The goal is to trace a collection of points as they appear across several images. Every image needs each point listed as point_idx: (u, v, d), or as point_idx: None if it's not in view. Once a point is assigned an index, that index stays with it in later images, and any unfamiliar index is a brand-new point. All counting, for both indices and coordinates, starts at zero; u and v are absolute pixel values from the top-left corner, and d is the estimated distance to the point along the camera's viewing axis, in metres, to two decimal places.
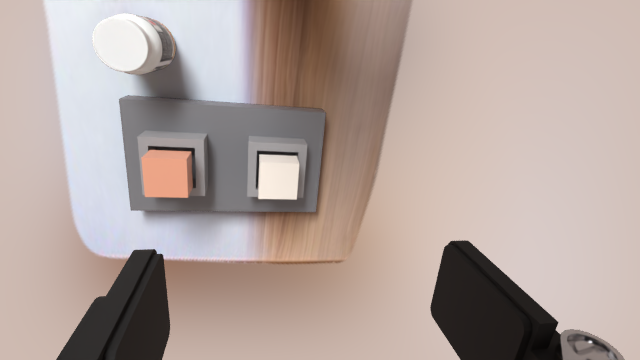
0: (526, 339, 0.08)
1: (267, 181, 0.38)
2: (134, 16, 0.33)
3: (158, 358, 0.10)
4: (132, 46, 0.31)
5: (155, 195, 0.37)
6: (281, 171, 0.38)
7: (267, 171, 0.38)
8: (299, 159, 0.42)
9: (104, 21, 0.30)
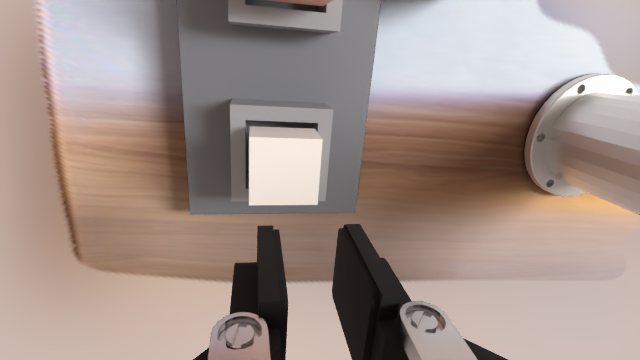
0: (374, 310, 0.09)
1: (285, 152, 0.21)
2: None
3: None
4: None
5: None
6: (304, 176, 0.22)
7: (304, 152, 0.21)
8: None
9: None
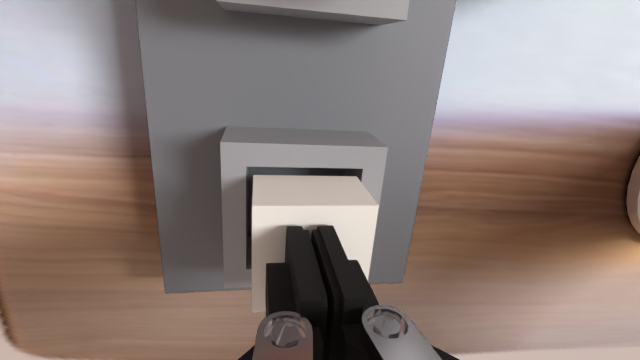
0: (338, 314, 0.09)
1: (315, 229, 0.12)
2: None
3: None
4: None
5: None
6: None
7: (347, 228, 0.12)
8: None
9: None
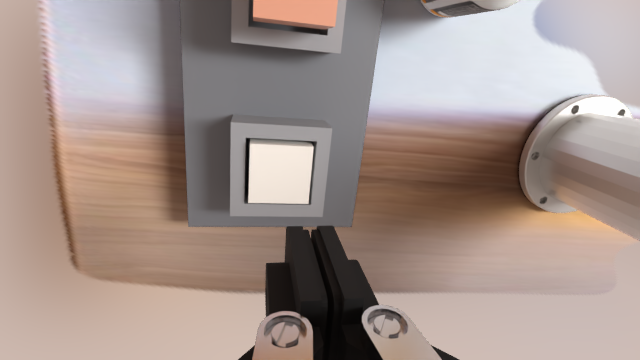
0: (338, 314, 0.09)
1: (281, 158, 0.24)
2: None
3: None
4: None
5: None
6: (297, 179, 0.25)
7: (298, 158, 0.24)
8: (299, 206, 0.26)
9: None
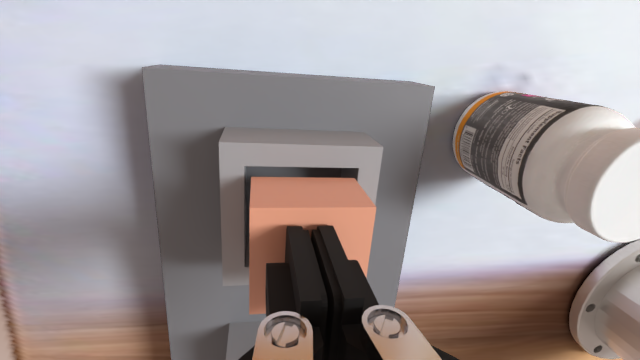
0: (338, 314, 0.09)
1: None
2: None
3: None
4: (633, 215, 0.14)
5: (255, 236, 0.12)
6: None
7: None
8: None
9: None
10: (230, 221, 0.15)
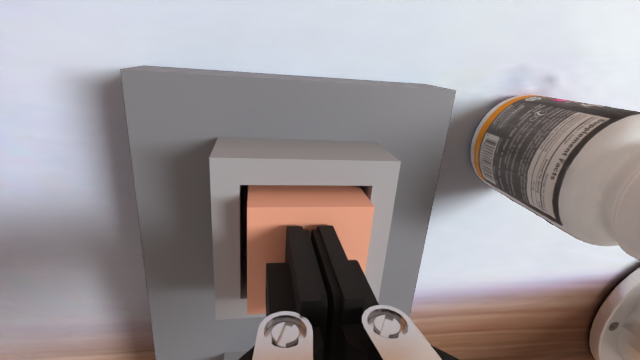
0: (338, 314, 0.09)
1: None
2: None
3: None
4: None
5: (253, 236, 0.12)
6: None
7: None
8: None
9: None
10: (224, 248, 0.13)
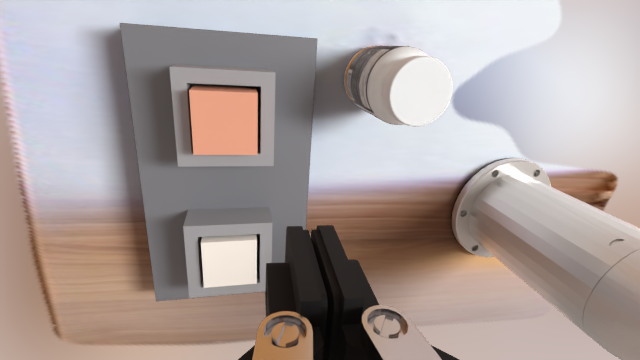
0: (338, 314, 0.09)
1: (229, 251, 0.28)
2: None
3: None
4: (419, 107, 0.23)
5: (193, 106, 0.23)
6: (245, 265, 0.29)
7: (244, 249, 0.28)
8: (249, 285, 0.30)
9: (449, 77, 0.23)
10: (180, 120, 0.24)
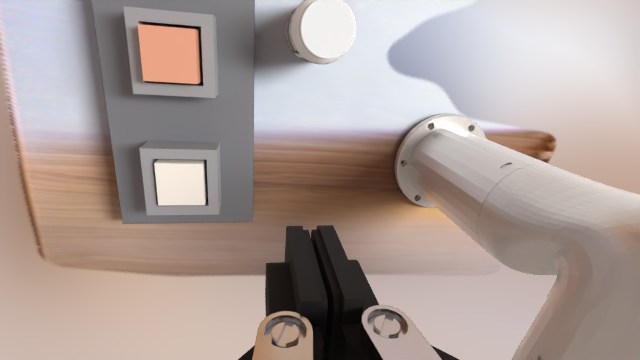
0: (338, 314, 0.09)
1: (179, 172, 0.33)
2: None
3: None
4: (327, 42, 0.28)
5: (141, 38, 0.28)
6: (193, 187, 0.34)
7: (192, 172, 0.33)
8: (199, 207, 0.35)
9: (352, 16, 0.28)
10: (133, 53, 0.29)
